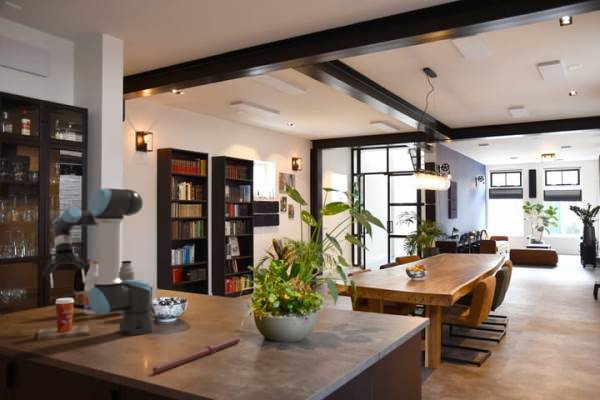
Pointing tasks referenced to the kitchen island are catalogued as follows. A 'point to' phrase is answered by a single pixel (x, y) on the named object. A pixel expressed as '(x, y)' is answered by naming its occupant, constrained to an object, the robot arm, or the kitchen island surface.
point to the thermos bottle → (126, 274)
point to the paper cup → (64, 314)
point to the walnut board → (54, 333)
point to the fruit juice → (90, 285)
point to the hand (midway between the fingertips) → (68, 284)
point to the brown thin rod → (194, 355)
